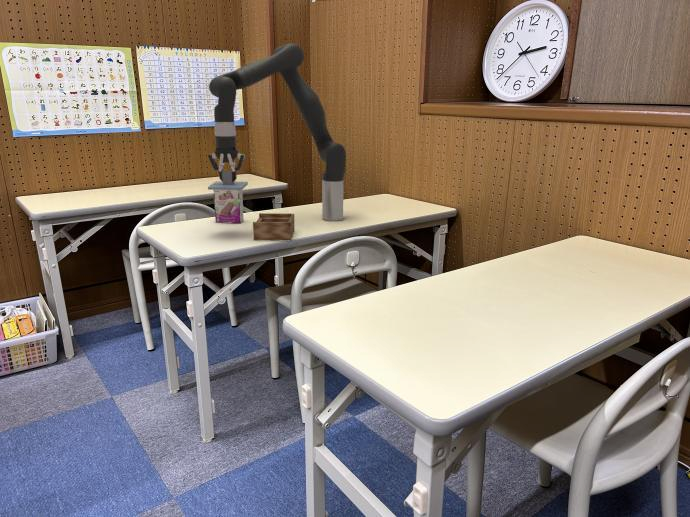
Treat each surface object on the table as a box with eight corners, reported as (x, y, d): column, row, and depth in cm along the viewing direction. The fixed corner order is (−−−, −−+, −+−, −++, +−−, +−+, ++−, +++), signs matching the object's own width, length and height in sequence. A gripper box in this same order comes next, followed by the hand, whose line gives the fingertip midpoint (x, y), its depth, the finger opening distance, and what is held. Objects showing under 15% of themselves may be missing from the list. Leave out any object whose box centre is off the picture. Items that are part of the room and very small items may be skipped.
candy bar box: (215, 223, 213) (212, 184, 207) (219, 220, 217) (216, 182, 212) (240, 224, 212) (238, 185, 206) (244, 221, 216) (242, 183, 211)
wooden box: (294, 230, 203) (294, 213, 200) (290, 240, 188) (290, 222, 186) (260, 230, 203) (259, 213, 200) (253, 240, 188) (252, 222, 186)
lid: (247, 184, 195) (247, 168, 193) (241, 190, 184) (241, 173, 182) (216, 183, 195) (215, 168, 193) (208, 189, 184) (206, 173, 182)
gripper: (246, 134, 187) (248, 179, 192) (208, 133, 187) (212, 179, 192) (242, 135, 180) (245, 183, 185) (203, 135, 180) (206, 182, 185)
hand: (228, 181), depth 189 cm, fingers closed on lid, 3 cm apart
